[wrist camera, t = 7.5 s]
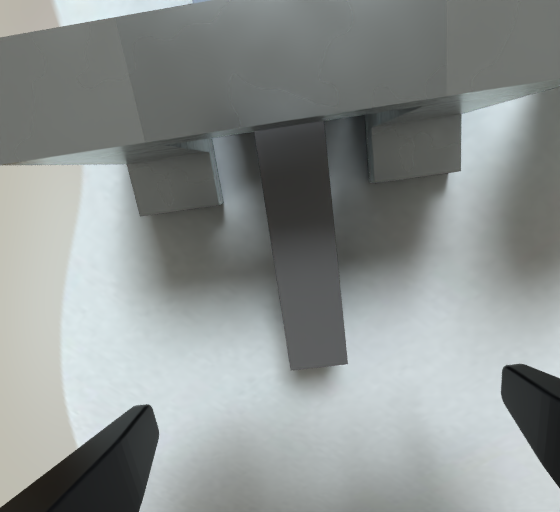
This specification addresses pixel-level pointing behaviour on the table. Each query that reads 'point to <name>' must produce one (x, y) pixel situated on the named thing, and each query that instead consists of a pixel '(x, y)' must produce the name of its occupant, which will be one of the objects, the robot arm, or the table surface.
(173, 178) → the gray arch-shaped bracket
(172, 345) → the table surface
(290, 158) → the plug
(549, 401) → the robot arm
